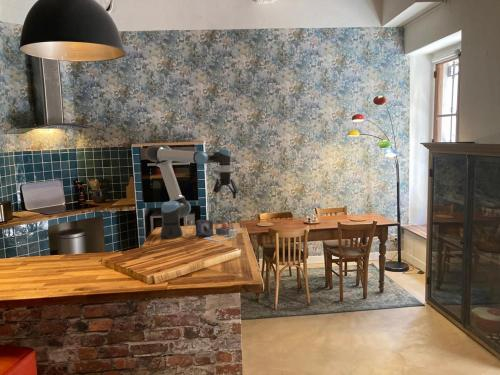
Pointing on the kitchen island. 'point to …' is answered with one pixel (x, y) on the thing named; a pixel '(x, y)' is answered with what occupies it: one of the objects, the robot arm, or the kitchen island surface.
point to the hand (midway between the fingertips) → (225, 202)
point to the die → (232, 232)
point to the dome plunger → (224, 226)
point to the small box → (204, 228)
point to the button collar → (223, 230)
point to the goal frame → (219, 235)
